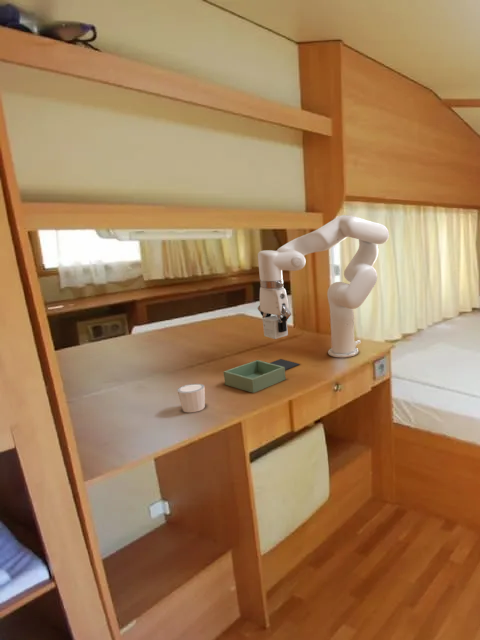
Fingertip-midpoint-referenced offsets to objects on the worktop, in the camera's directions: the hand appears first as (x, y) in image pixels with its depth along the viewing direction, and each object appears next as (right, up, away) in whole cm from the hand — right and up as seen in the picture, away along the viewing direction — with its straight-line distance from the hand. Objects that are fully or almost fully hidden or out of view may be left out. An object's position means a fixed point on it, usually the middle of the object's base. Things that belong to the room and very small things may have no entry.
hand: (275, 329), depth 163 cm
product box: (0, -3, +1) cm, 3 cm away
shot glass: (-9, -25, -31) cm, 41 cm away
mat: (-1, -15, +5) cm, 15 cm away
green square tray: (-2, -19, -10) cm, 22 cm away
